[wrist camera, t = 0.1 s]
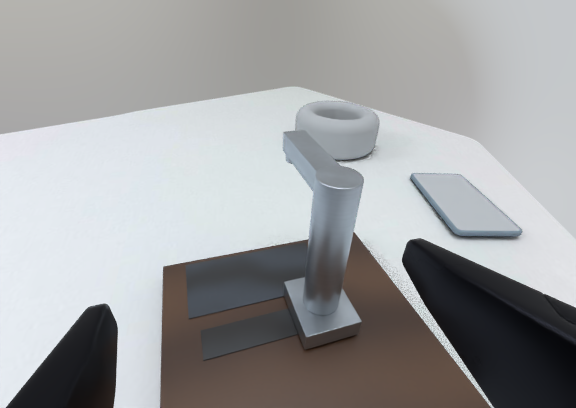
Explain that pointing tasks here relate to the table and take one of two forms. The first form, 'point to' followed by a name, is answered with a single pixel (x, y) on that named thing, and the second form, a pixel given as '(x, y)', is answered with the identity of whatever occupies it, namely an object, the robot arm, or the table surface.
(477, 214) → the smartphone
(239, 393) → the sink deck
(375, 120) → the donut shape
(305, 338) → the tap
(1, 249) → the table surface
